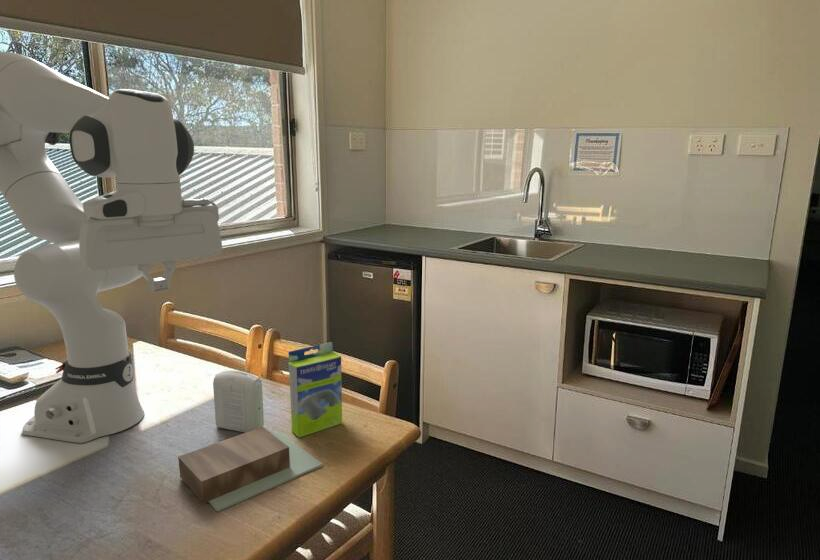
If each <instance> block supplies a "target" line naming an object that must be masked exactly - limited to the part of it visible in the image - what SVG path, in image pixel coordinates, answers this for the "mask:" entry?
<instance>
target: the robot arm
mask: <svg viewBox="0 0 820 560" xmlns="http://www.w3.org/2000/svg"><path fill="white" fill-rule="evenodd" d="M65 133H66V134H67V133H69V148H70V153H71V157H72V160H73V161H74V162H75V164H77V166H78V167H79V168H80V169H81V170H82V171H83V172H84V173H86V174H87V175H89V176H91V177H98V178H105V179H107V178H109V179H110V178H115V186H116V190H114V191H111V192H109V193H105V194H102V195H100V196H97V197H94V198H90V199H89V200H86V201H84V202H83V203H82V202H81V200H80V199H79V198H78V196H77V194H76V193H75V192H74V191H73V189H72V188H71V187H70V185H69V183H67V181H66V180H65V178H64V176H63V175H62V173H61V172H60V171H59V170H58V168H57V167H56V166H55V164H54V163H53V162H52V160H51V159H50V156H49V155H48V154H47V151H46V143H47V144H48V145H50V146H54V145H56V144H58V143H59V142H60V137H61V136H62V135H63V134H65ZM194 153H195V146H194V140H193V137H192V135H191V134H190V132H189V130H188V129H187V128H186V126H185V125H184V124H183V123H182V121H180V120H179V119H178V118H177V117H175V116H173V112H172V109H171V105H170V103H169V100H168V99H167V98H166V97H165V96H163V95H162V94H160V93H157V92H153V91H148V90H146V91H145V90H141V89H132V88H117V89H115V90H113V91H111V92H110V93H109V96H107V95H105V94H103V93H100V92H98V91H96V90H94V89H92V88H91V87H88V86H86V85H83V84H81V83H79V82H77V81H75V80H73V79H72V78H69V77H67V76H66V75H64V74H62V73H60V72H58V71H56V70H55V69H52V68H50V67H49V66H48V65H45V64H44V63H42V62H40V61H37V60H36V59H34V58H32V57H28V56H26V55H24V54H19V53H16V52H11V51H0V193H1V194H2V196H3V198H4V200H5V201H6V203H7V204H8V206H9V207H10V208H11V210H12V212H13V213H14V215H15V216H16V217H17V218H16V219H18V220H19V223H20V224H21V225H22V226H23V228H24V229H25V230H26V232H27V233H29V234H30V235H31V236H34V237H35V238H37V239H38V238H39V239H41V240H45V241H48V242H51V243H48V244H44V245H42V246H39V247H38V246H37V247H36V248H33V249H31V250H28V251H25V252H23V253H22V254H20V255H19V257H18V258H17V260H16V261H15V264H14V269H13V277H14V281H15V284H16V287H17V288H18V290H19V292H20V293H22V295H23V296H24V297H25V298H27V299H28V300H30V301H32V302H34V303H36V304H39V305H41V306H43V307H44V308H46V309H47V310H48V311H49V312H50V313H51V314H52V315H53V317H54V318H55V319H56V321H57V322H58V325H59V327H60V329H61V332H62V337H63V340H64V341H63V342H64V346H65V352H66V358H67V360H65V361H64V362H62V364H61V365H59V366H57V367H55V370H56V371H55V374H59V373H61V372H62V375H61V378H60V379H59V380H58V381H57V382H55V383H54V384H53V385H52V386H51V387H49V388H48V389H47V390H46V391H45V392H44V393H42V394H41V395H40V396H39V397H38V398H37V400H36V402H35V406H34V412H33V413H34V416H32V417H31V418H30V419H29V420H28V421H26V422H25V424H23V427H22V434H23V435H25V436H31V437H36V438H44V439H50V440H56V441H63V442H70V443H75V444H83V443H87V442H90V441H93V440H95V439H97V438H101V437H103V436H104V437H105V436H109V435H113V434H115V433H116V434H117V433H119V432H122V431H125V430H127V429H130V428H131V427H133V426H134V425H136V424H138V423H139V422H140V421H141V420H142V419H143V418H144V416H145V411H144V409H143V408H142V405H141V402H140V399H139V398H138V395H137V391H136V390H137V389H136V388H135V382H134V368H133V367H134V366H133V358H132V353H131V352H130V351H129V345H128V344H129V343H128V336H127V328H126V322H125V320H124V318H123V317H122V316H121V315H120V314H119V313H117V312H116V311H114V310H111V309H108V308H103V307H102V305H101V303H100V300H99V297H98V293H100V292H105V291H108V290H112V289H116V288H121V287H123V286H126V285H128V284H131V283H133V282H134V281H135V282H136V280H138V279H140V278H142V277H143V278H144V279H145V280H146V283H147V291H148V292H150V293H155V292H160V291H161V292H162V291H167V290H171V278H172V277H173V275H174V272H175V271H176V268H177V261H182V260H191V259H198V258H207V257H214V256H218V255H220V253H221V251H222V249H223V243H222V236H221V231H220V228H219V223H218V222H219V219H220V217H219V216H220V215H219V207H218V206H217V204H216V203H214V202H213V201H211V200H209V199H208V198H200V199H183V197H182V188H181V187H182V186H181V178H180V176H181V174H184V172H185V171H186V170H187V169H188V167H189V165H190V164H191V162H192V160H193V157H194ZM159 263H161V264H162V267H164V268H165V269H164V271H163V274H162V276H160V277H155V278H153V276H152V275H151V273H150V272H151V271H152V268H153V267H152V264H159ZM149 271H150V272H149Z"/></svg>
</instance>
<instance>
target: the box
mask: <svg viewBox="0 0 820 560" xmlns="http://www.w3.org/2000/svg"><path fill="white" fill-rule="evenodd" d="M333 348H334V347H333V341H330V342H326V343H320V344H317V345H312V346H309V347H304V348H299V349H295V350H290V351H288V362H287V365H288V372H289V390H290V392H289V394H290V410H291V412H290V413H291V432H292V433H294V435H295V436H297V437H298V438H302V437H305V436H308V435H310V434H313V433H317V432H321V431H323V430H327V429H329V428H332V427H336V426H339V425H342V424H343V404H342V403H343V401H342V400H343V394H342V393H343V392H342V391H343V389H342V388H343V386H342V383H343V382H342V356H341V355H340V354H338V353H336V352H335V351H334V350H333ZM311 350H317V351H316V352H313V353H308V354H305V353H307V352H310V351H311Z"/></svg>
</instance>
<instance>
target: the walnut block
mask: <svg viewBox="0 0 820 560" xmlns="http://www.w3.org/2000/svg"><path fill="white" fill-rule="evenodd" d="M272 434H273V433H271V432H270V431H268V430H267V429H265V428H264V426H263V427H261V428H258V429H255V430H252V431H249V432H246V433H245V432H243V433H240V434H238V435H236V436H232V437H229V438H227V439H224V440H221V441H218V442H215V443H212V444H210V445H206V446H204V447H201V448H198V449H196V450H194V451H193V450H192V451H190V452H187V453H185V454H181V455H180V456H178V459H177V460H178V469H179V477H180V479H181V480H182V481H183V482H184V483H185V484H186V486H188V488H189V489H190V490H191V491H192V492H193V493H194V495H196V497H198V499H199V500H200V501H201V502H202V504H206V503H207V502H208V501H210V500H213V499H215V498H218V497H220V496H222V495H225V494H227V493H229V492H232V491H234V490H237V489H239V488H241V487H244V486H246V485H249V484H251V483H253V482H256V481H258V480H260V479H263V478H265V477H268V476H270V475H272V474H275V473H277V472H279V471H282V470H284V469H287V468H289V467H290V455H289V447H288V446H287V445H286V444H284V443H283V442H282V441H280V440H279V439H278V438H276V437H275V436H274V435H272ZM208 503H209V502H208Z"/></svg>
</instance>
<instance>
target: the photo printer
mask: <svg viewBox="0 0 820 560" xmlns="http://www.w3.org/2000/svg"><path fill="white" fill-rule="evenodd" d="M212 386H213V387H212V388H213V400H214V401H213V403H214V415H215V416H214V417H215V418H214V419H215V426H216V427H217V428H221V429H225V430H230V431H236V432H240V433H246V432H249V431H252V430H255V429H258V428H261V427H263V428H264V422H265V421H264V417H265V416H264V398H263V383H262V380H261V379H260V378H259V377H258V376H256V375H254V374H252V373H249V372H245V371H240V370H224V371H220V372H218V373H216V374H215V375H214V378H213V382H212Z"/></svg>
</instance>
